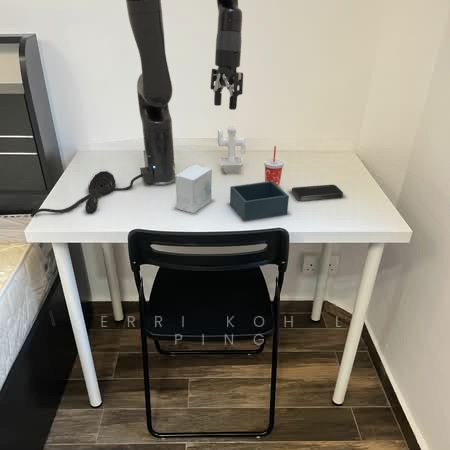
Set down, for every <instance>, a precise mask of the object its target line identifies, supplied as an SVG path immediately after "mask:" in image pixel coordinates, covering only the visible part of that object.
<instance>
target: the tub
mask: <svg viewBox="0 0 450 450" xmlns="http://www.w3.org/2000/svg"><path fill="white" fill-rule="evenodd" d="M229 188H230V189H229V190H230V191H229V205H230V206H231V207H232V209H233V210H234V211H235V212H236V213H237V215H238V216H239V217H240V218H241V220H242V221H244V222H247V221H254V220H260V219H267V218H272V217H280V216H285V215H288V209H289V200H290V199H289V198H290V195H289V194H288V193H287V192H286V191H284V190H283V189H282V188H281V187H280V186H279V187H278V186H277V185H276V184H275V183H274V182H273V181H268V182H265V181H262V182H254V183H247V184H240V185H239V184H238V185H232V186H230V187H229Z"/></svg>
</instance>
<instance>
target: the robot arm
mask: <svg viewBox="0 0 450 450" xmlns="http://www.w3.org/2000/svg"><path fill="white" fill-rule="evenodd" d="M125 3H126V10H127V16H128V20H129V25H130V28H131V31H132V35H133V38H134V41H135V43H136V47H137V50H138V54H139V58H140V63H141V64H140V65H141V66H140V67H141V74H140V75H139V76H138V79H137V81H136V92H137V101H138V110H139V116H140V120H141V125H142V136H143V144H144V145H143V147H144V150H143V160H144V167H143V166H142V167H139V171H140V174H138V175H136V176H134V177H133V178H132V179H131V180H130V182H129V185H128V186H126V187H121V188H120V187H115V188H113V191H115V192H116V191H120V192H121V191H128V190H130V189H131V188H133V185H134V182H135V181H136V180H138V179H140V178H141V179H142V181H143V182H144V183H147V182H148V184H149V185H155V186H166V185H170V184H172V183H175V182H176V171H175V170H176V164H175V153H174V136H173V134H174V133H173V119H172V116H171V113H170V108H169V103H170V102H171V99H172V98H173V97H172V96H173V91H174V90H173V83H172V80H171V75H170V74H171V73H170V71H169V70H170V69H169V66H168V60H167V54H166V53H167V52H166V41H165V40H166V39H165V29H164V19H163V9H162V7H163V6H162V0H125ZM216 5H217V12H218V15H217V31H216V38H215V55H214V56H215V58H214V66H216V67H217V68H212V69H211V72H210V73H211V75H210V90H212V91H213V93H214V94H213V95H214V97H213V99H214V100H213V104H214V106H216V107H218V106H219V107H220V106H222V92H223V89H224V88H226V89H227V90H228V93H229V100H228V101H229V104H228V109H229V110H231V111H232V110H233V111H234V110H236V109H237V106H238V105H237V104H238V97H239V96H241V95H243V93H244V92H243V88H244V72H239V71H237V69H238V68H240V67H241V55H242V29H243V28H242V27H243V11H242V9H240V8H239V0H216ZM103 189H104V188H103ZM105 189H106V188H105ZM98 190H100V189H98ZM98 190H95V191H98ZM101 190H102V187H101ZM113 191H112V192H113ZM91 194H92V193H88V194H86V195H85V196H83V197H81V198H80V199H78V200H77V201H76V202H75V203H73V204H72V205H70V206H68V207H65V208H62V209H53V208H38V209H35V210H34V211H33V212H31V214H30V215H29V216H30V217H35V215H37V214H38V213H43V212H47V213H58V214H60V213H65V212H68V211H69V212H70V211H71V210H73V209H75V208H76V207H78V206H79V205H80V204H81V203H83V202H84V201H87V200H88V199H89V197H90V196H91ZM48 313H49V315H50V316H49V317H50V320H51V321H50V322H51V324H52V327H55V326H56V323H55V317H54V315H53V311H52V310H48Z"/></svg>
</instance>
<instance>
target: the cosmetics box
mask: <svg viewBox="0 0 450 450" xmlns="http://www.w3.org/2000/svg"><path fill="white" fill-rule="evenodd" d="M212 171H213V170H212V167H211V168H210V167H207V166H202V165H199V164H193V165H191V166H190V167H187V168H186V169H184V170H183V171H181V172H179V173H177V174H175V196H176V199H175V200H176V201H175V202H176V207H175V209H177V210H181V211H184V212H188V213H191V214H195V213H196V212H197V211H199V210H200V209H202V208H203V207H204V206H207V204H209V203H210V202H212V183H213V181H212V178H213V177H212V175H213V174H212Z"/></svg>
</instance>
